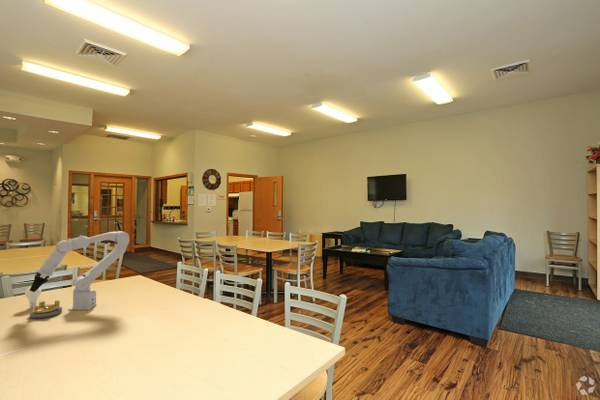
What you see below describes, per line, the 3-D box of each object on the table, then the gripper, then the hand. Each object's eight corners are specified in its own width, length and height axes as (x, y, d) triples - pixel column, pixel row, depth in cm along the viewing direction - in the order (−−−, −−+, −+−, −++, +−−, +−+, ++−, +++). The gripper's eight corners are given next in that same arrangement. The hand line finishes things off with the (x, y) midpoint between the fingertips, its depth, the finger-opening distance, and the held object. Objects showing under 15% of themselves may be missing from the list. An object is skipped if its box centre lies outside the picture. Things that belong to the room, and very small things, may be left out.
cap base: (67, 310, 153) (68, 305, 153) (49, 319, 141) (49, 314, 141) (43, 310, 152) (43, 306, 152) (22, 319, 140) (22, 314, 140)
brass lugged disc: (64, 306, 152) (64, 299, 152) (49, 313, 142) (49, 306, 142) (43, 306, 151) (43, 300, 151) (26, 313, 141) (26, 306, 141)
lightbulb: (33, 309, 153) (34, 287, 153) (21, 309, 153) (21, 287, 153) (44, 305, 159) (44, 284, 159) (32, 305, 159) (32, 284, 159)
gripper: (43, 258, 153) (24, 283, 148) (41, 261, 141) (21, 289, 137) (58, 264, 156) (40, 289, 152) (58, 267, 145) (38, 295, 140)
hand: (32, 289), depth 144 cm, fingers open, 7 cm apart
